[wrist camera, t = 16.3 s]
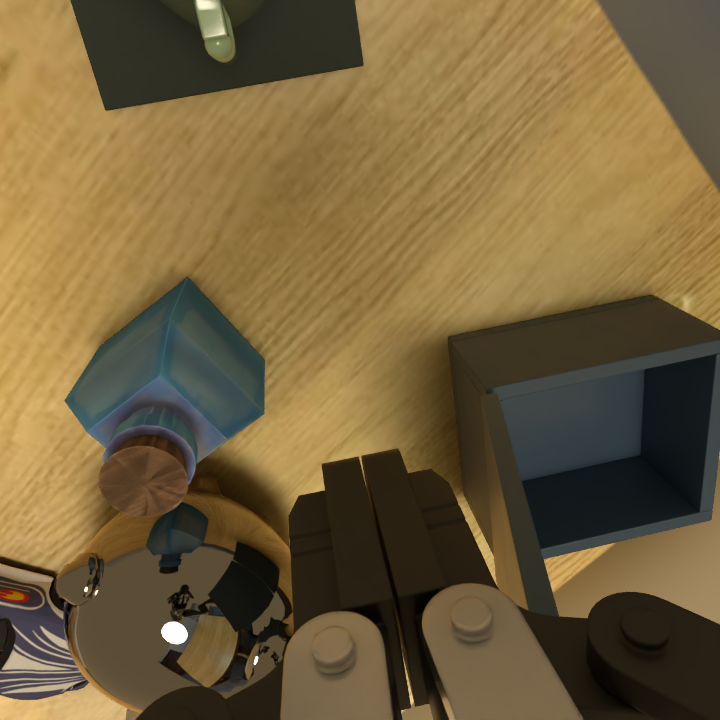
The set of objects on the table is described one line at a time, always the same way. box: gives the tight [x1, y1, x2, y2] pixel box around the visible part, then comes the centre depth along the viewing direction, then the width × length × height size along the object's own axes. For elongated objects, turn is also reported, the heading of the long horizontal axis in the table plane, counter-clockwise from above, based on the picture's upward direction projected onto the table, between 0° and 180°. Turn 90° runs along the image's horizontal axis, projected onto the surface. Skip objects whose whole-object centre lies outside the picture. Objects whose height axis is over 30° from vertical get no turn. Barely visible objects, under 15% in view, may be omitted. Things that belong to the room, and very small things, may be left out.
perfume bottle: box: [65, 277, 265, 517], centre depth 27 cm, size 6×6×12 cm
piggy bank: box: [54, 472, 294, 714], centre depth 33 cm, size 11×15×12 cm
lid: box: [481, 394, 559, 617], centre depth 25 cm, size 13×12×1 cm
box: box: [448, 295, 720, 559], centre depth 35 cm, size 13×12×7 cm
